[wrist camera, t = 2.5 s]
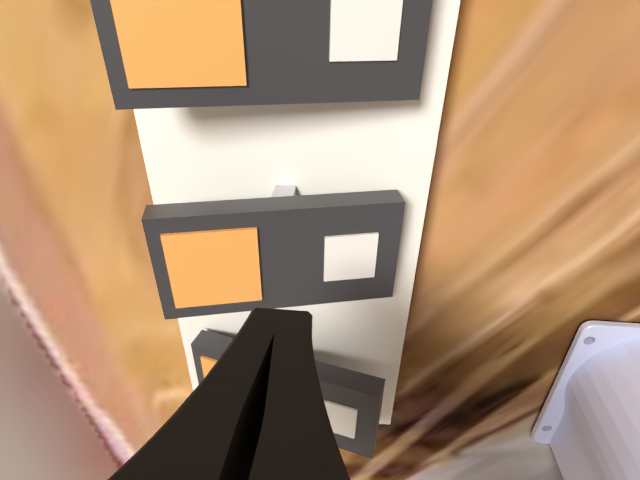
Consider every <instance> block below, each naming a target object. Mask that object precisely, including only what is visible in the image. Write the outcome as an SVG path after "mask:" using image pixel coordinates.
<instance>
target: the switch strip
mask: <svg viewBox="0 0 640 480" xmlns="http://www.w3.org/2000/svg"><path fill="white" fill-rule="evenodd" d="M460 1H461V0H433V3H432V10H431V18H430V25H429V32H428V40H427V47H426V55H425V62H424V69H423V77H422V84H421V91H420V99H419V100H401V101H369V102H338V103H307V104H275V105H244V106H213V107H182V108H150V109H133V110H134V114H135V119H136V124H137V128H138V133H139V138H140V142H141V147H142V152H143V157H144V161H145V166H146V171H147V175H148V180H149V185H150V189H151V194H152V199H153V204H154V205H155V204H171V203H187V202H203V201H219V200H235V199H251V198H267V197H283V196H299V195H315V194H331V193H348V192H364V191H380V190H396V189H397V190H398V192H399V193H400V195H401V196H402V198H403V199H404V201H405V209H404V216H403V224H402V231H401V238H400V246H399V253H398V260H397V268H396V275H395V282H394V290H393V297H386V298H376V299H366V300H356V301H346V302H336V303H325V304H315V305H305V306H295V307H285V308H275V309H284V310H299V311H308V312H309V313H310V314H312V315H313V316H312V344H313V351H314V358H315V360H316V361H320V362H324V363H328V364H331V365H335V366H339V367H342V368H346V369H350V370H354V371H357V372H361V373H365V374H368V375H372V376H376V377H379V378H383V379H385V386H384V393H383V400H382V406H381V413H380V420H379V424H390V422H391V416H392V410H393V404H394V398H395V392H396V386H397V380H398V374H399V368H400V362H401V356H402V350H403V344H404V338H405V332H406V326H407V320H408V314H409V308H410V302H411V296H412V290H413V284H414V278H415V272H416V266H417V260H418V254H419V248H420V242H421V236H422V230H423V224H424V218H425V211H426V205H427V199H428V193H429V187H430V181H431V175H432V169H433V163H434V157H435V151H436V145H437V139H438V133H439V127H440V121H441V115H442V109H443V103H444V97H445V91H446V85H447V79H448V73H449V67H450V61H451V55H452V49H453V43H454V37H455V31H456V25H457V19H458V13H459V7H460ZM250 313H251V311H245V312H235V313H225V314H215V315H205V316H194V317H184V318H178V321H179V326H180V330H181V335H182V340H183V345H184V349H185V354H186V359H187V363H188V368H189V373H190V377H191V382H192V387H193V391H194V390H195V389H196V387H197V386H198V385H199V383H198V378H197V373H196V368H195V363H194V358H193V353H192V348H191V343H192V342H193V340H194V339H195V338H196V337H197V335H198V334H199V333H200V332H201V330H205V331H209V332H213V333H216V334H220V335H224V336H228V337H231V338H235V336H236V335H237V333H238V332H239V330H240V329H241V327H242V326H243V324H244V322H245V321H246V319H247V318H248V316H249V314H250Z"/></svg>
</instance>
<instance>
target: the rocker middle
mask: <svg viewBox="0 0 640 480" xmlns="http://www.w3.org/2000/svg"><path fill="white" fill-rule="evenodd" d="M404 209H405V201H404V199H403V198H402V196H401V195H400V193H399V192H398V190H397V189H396V190H380V191H364V192H348V193H331V194H315V195H299V196H283V197H267V198H251V199H235V200H219V201H203V202H187V203H171V204H155V205H146V208H145V211H144V214H143V217H142V223H143V228H144V232H145V236H146V241H147V245H148V249H149V253H150V258H151V262H152V266H153V270H154V275H155V279H156V283H157V287H158V292H159V296H160V300H161V305H162V309H163V313H164V317H165V319H174V318H184V317H194V316H205V315H215V314H225V313H235V312H245V311H252V310H253V309H255V308H270V309H275V308H285V307H295V306H305V305H315V304H325V303H336V302H346V301H356V300H366V299H376V298H386V297H393V290H394V282H395V275H396V268H397V260H398V253H399V246H400V238H401V231H402V224H403V216H404Z"/></svg>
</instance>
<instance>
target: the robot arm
mask: <svg viewBox="0 0 640 480" xmlns="http://www.w3.org/2000/svg"><path fill="white" fill-rule="evenodd" d="M312 316H313V315H312V314H310V313H309V312H308V311H299V310H284V309H270V308H255V309H253V310H252V311H251V313H250V314H249V316H248V318H247V319H246V321H245V322H244V324H243V326H242V327H241V329H240V330H239V332H238V333H237V335H236V336H235V338H234V339H233V340H232V342H231V343H230V345H229V346H228V348H227V349H226V350H225V352H224V353H223V354H222V356H221V357H220V358H219V360H218V361H217V362H216V364H215V365H214V366H213V367H212V369H211V370H210V371H209V373H208V374H207V375H206V377H205V378H204V379H203V380H202V382H201V383H200V384H199V385H198V386H197V387H196V389H195V390H194V391H193V392H192V393H191V395H190V396H189V397H188V398H187V399H186V400H185V402H184V403H183V404H182V405H181V406H180V407H179V409H178V410H177V411H176V412H175V413H174V414H173V415H172V416H171V417H170V419H169V420H168V421H167V422H166V423H165V424H164V425H163V426H162V427H161V428H160V429H159V430H158V431H157V432H156V434H155V435H154V436H153V437H152V438H151V439H150V440H149V441H148V442H147V443H146V444H145V445H144V446H143V447H142V448H141V449H140V450H139V451H138V452H137V453H136V454H135V455H133V456H132V457H131V458H130V459H129V460H128V461H127V462H126V463H125V464H124V465H123V466H122V467H121V468H120V469H119V470H118V471H116V472H115V473H114V474H113V475H112V476H111V477H110V478H109V479H108V480H350V478H349V476H348V473H347V470H346V468H345V465H344V462H343V459H342V457H341V454H340V451H339V448H338V445H337V442H336V440H335V436H334V433H333V430H332V427H331V424H330V420H329V417H328V414H327V410H326V407H325V403H324V399H323V395H322V391H321V387H320V383H319V378H318V374H317V369H316V364H315V358H314V351H313V344H312ZM587 337H589V338H587ZM585 338H586V339H585ZM531 436H532V439H533V441H534V442H536V443H541V444H550V446H551V448H552V451H553V454H554V456H555V459H556V462H557V464H558V467H559V469H560V472H561V475H562V477H563V480H640V323H624V322H609V321H587V322H584V323H583V324H581V326H580V327H579V329H578V331H577V333H576V336H575V338H574V340H573V342H572V344H571V347H570V349H569V351H568V353H567V355H566V357H565V360H564V362H563V364H562V366H561V368H560V371H559V373H558V375H557V377H556V379H555V382H554V384H553V386H552V388H551V390H550V393H549V395H548V397H547V399H546V401H545V404H544V406H543V408H542V410H541V412H540V415H539V417H538V419H537V421H536V423H535V426H534V428H533V430H532V432H531Z"/></svg>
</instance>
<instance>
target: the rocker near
mask: <svg viewBox="0 0 640 480" xmlns="http://www.w3.org/2000/svg"><path fill="white" fill-rule="evenodd" d="M90 2H91V6H92V10H93V15H94V19H95V23H96V27H97V32H98V36H99V40H100V44H101V49H102V53H103V57H104V61H105V66H106V70H107V74H108V79H109V83H110V87H111V91H112V96H113V100H114V104H115V108H116V110H119V109H150V108H182V107H213V106H244V105H275V104H307V103H338V102H369V101H401V100H419V99H420V91H421V84H422V77H423V69H424V62H425V55H426V47H427V40H428V32H429V25H430V18H431V10H432V3H433V0H90Z"/></svg>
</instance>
